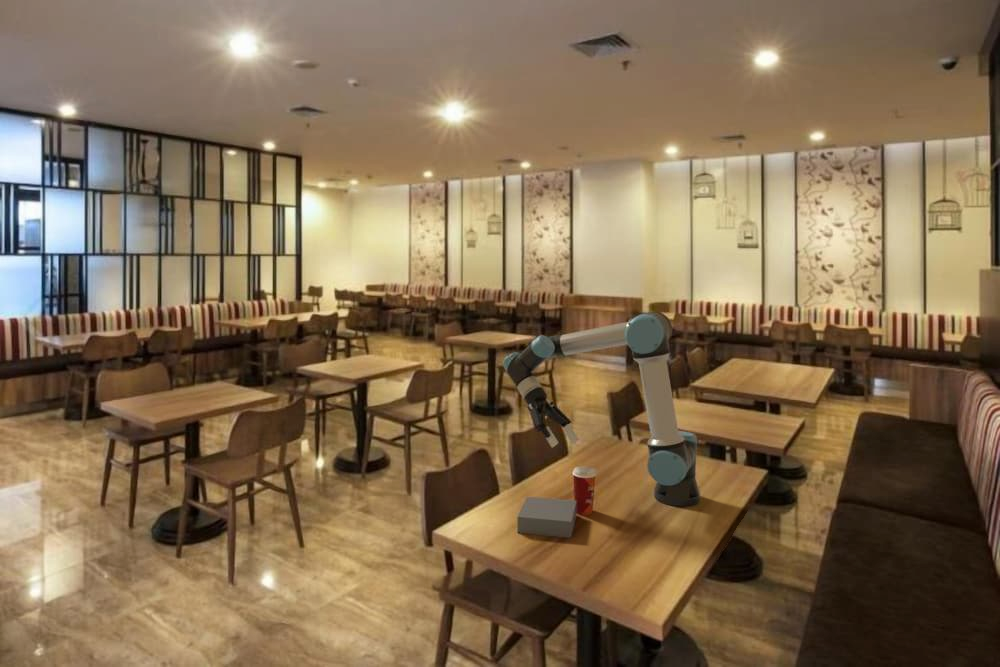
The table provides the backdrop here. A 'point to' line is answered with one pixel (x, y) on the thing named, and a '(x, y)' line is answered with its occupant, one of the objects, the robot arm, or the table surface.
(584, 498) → the paper cup
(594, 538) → the table surface
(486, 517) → the table surface
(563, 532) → the base block
